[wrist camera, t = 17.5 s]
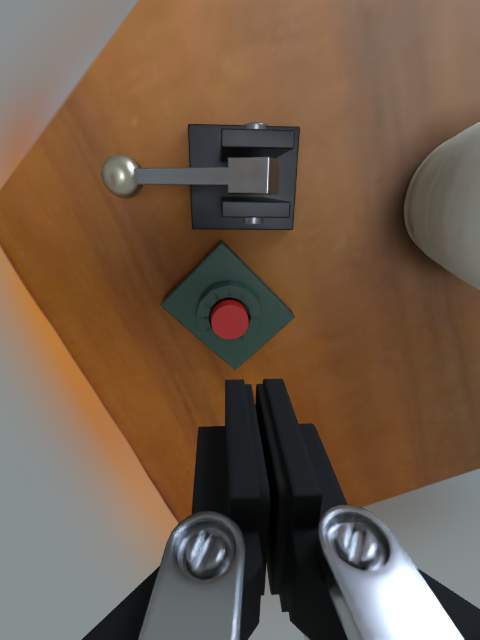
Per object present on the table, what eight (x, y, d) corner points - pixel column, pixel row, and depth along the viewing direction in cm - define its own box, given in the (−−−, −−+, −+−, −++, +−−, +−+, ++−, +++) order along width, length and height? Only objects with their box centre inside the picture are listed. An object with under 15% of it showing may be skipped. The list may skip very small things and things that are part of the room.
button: (204, 316, 33) (203, 323, 32) (229, 291, 33) (230, 297, 31) (229, 339, 34) (229, 346, 33) (254, 316, 34) (256, 322, 32)
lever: (123, 197, 29) (95, 198, 26) (119, 156, 27) (88, 152, 25) (280, 201, 24) (265, 203, 21) (282, 151, 22) (267, 145, 20)
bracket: (192, 227, 34) (179, 248, 22) (189, 126, 30) (170, 85, 18) (290, 228, 34) (329, 249, 22) (297, 128, 31) (346, 91, 19)
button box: (163, 298, 36) (157, 311, 32) (221, 239, 34) (221, 245, 30) (234, 361, 39) (236, 378, 36) (291, 310, 38) (299, 323, 34)
